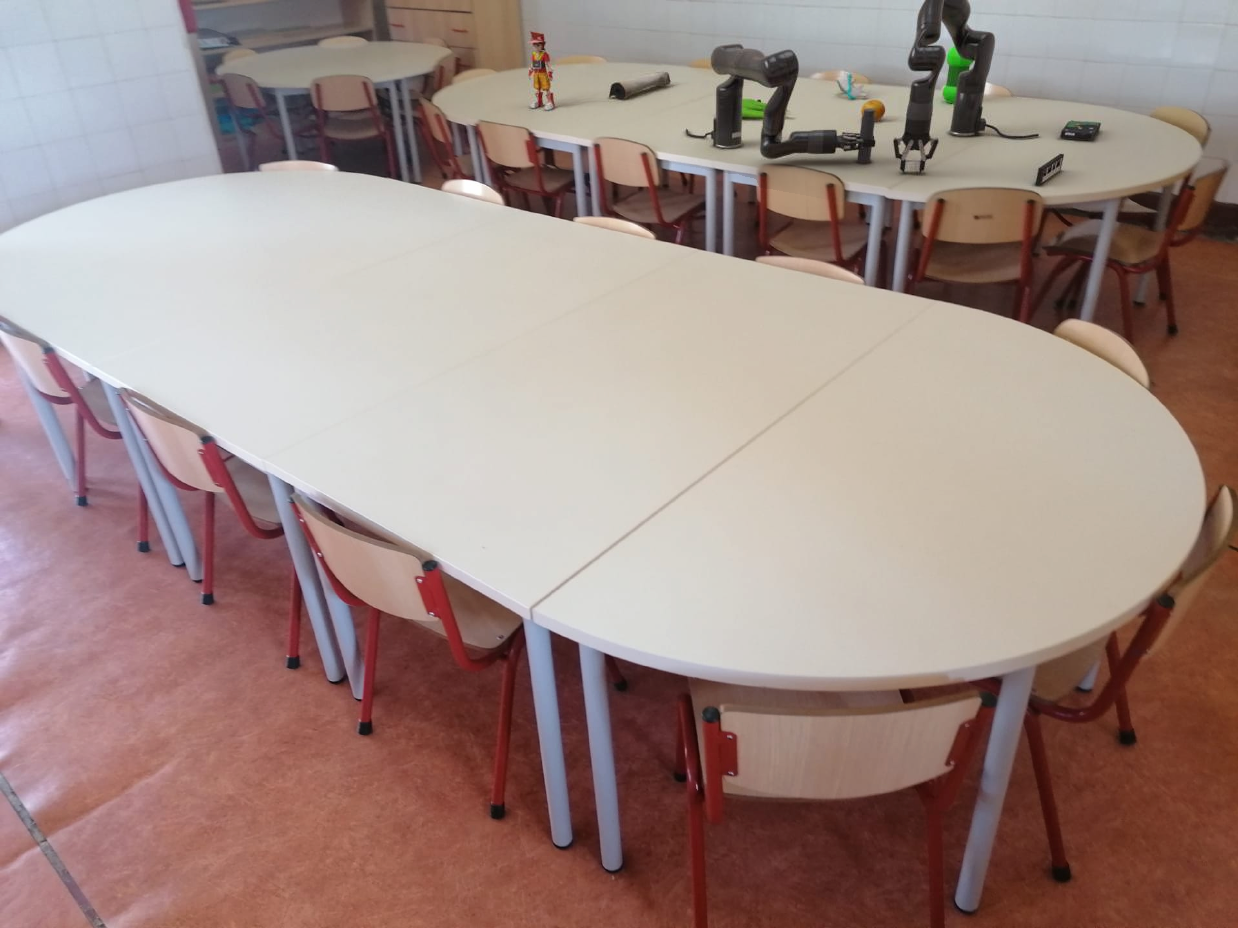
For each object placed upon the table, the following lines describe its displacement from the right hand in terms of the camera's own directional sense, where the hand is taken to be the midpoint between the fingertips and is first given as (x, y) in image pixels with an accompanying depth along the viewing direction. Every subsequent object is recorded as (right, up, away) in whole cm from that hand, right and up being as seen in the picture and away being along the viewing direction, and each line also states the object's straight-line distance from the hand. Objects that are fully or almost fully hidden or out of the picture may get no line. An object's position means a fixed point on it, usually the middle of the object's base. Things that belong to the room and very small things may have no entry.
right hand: (911, 171), depth 285 cm
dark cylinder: (-12, +7, +13) cm, 19 cm away
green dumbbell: (+40, +50, +70) cm, 95 cm away
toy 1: (-126, +59, +98) cm, 170 cm away
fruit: (+3, +37, +54) cm, 66 cm away
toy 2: (-39, +45, +69) cm, 91 cm away
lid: (0, +2, -2) cm, 3 cm away
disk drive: (+66, +21, +25) cm, 74 cm away
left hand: (-9, +13, +9) cm, 18 cm away
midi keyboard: (+39, -5, -10) cm, 40 cm away
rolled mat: (-84, +72, +112) cm, 157 cm away
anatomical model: (+3, +60, +87) cm, 105 cm away
